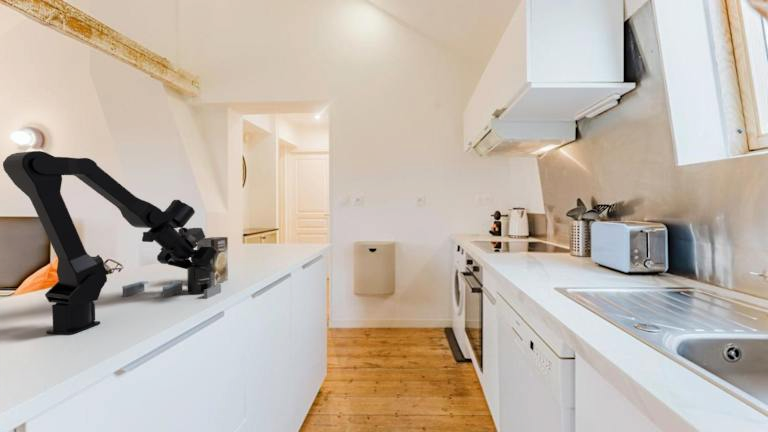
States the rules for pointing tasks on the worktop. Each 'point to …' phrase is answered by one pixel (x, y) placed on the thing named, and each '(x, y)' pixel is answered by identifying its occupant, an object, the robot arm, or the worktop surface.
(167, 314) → the worktop surface
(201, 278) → the supplement bottle
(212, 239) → the coffee box
